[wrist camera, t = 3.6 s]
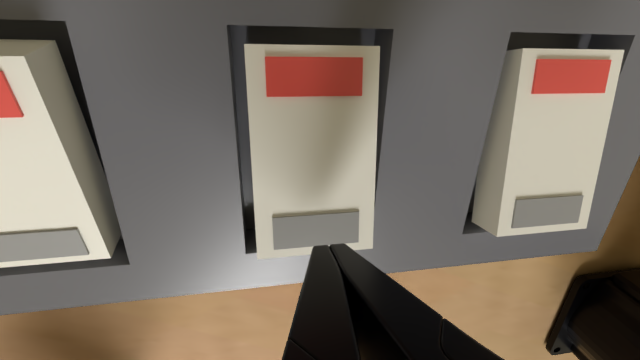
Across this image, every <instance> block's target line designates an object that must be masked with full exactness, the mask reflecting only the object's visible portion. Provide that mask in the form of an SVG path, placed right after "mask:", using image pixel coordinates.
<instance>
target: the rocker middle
mask: <svg viewBox="0 0 640 360" xmlns="http://www.w3.org/2000/svg"><path fill="white" fill-rule="evenodd" d="M244 52H245V68H246V84H247V101H248V117H249V133H250V149H251V166H252V182H253V198H254V214H255V231H256V247H257V259H267V258H278V257H289V256H299V255H310V254H311V252H312V248H313V247H314V246H317V245H328V246H330V245H331V244H340V243H344V244H346V245H348V246H349V247H350V248H352V249H353V250H363V249H373V228H374V201H375V174H376V146H377V119H378V92H379V65H380V46H346V45H282V44H244Z"/></svg>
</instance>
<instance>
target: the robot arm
mask: <svg viewBox="0 0 640 360" xmlns="http://www.w3.org/2000/svg"><path fill="white" fill-rule="evenodd" d="M546 349H547V351H548V352H549V353H550V354H551V355H558V354H564V353H570V352H572V353H573V354H574V355H575V356H576V357H577V358H578V359H579V360H640V268H636V269H628V270H620V271H612V272H604V273H595V274H587V275H582V276H580V277H578V278H577V279H576V280H575V281H574V283H573V285H572V288H571V290H570V292H569V294H568V297H567V299H566V301H565V304H564V306H563V308H562V310H561V313H560V315H559V317H558V320H557V322H556V324H555V326H554V329H553V331H552V333H551V335H550V338H549V340H548V342H547V345H546ZM282 360H504V359H502V358H501V357H499V356H498V355H496V354H495V353H493V352H492V351H490V350H489V349H487V348H486V347H484V346H483V345H481V344H480V343H478V342H477V341H476V340H474V339H473V338H471V337H470V336H469V335H467V334H466V333H464V332H463V331H462V330H460V329H459V328H457V327H456V326H455V325H453V324H452V323H451V322H449V321H448V320H447V319H443V317H442V316H441V315H440V314H438V313H437V312H436V311H434V310H433V309H432V308H430V307H429V306H428V305H426V304H425V303H424V302H422V301H421V300H420V299H418V298H417V297H416V296H414V295H413V294H412V293H410V292H409V291H408V290H406V289H405V288H404V287H402V286H401V285H400V284H398V283H397V282H396V281H394V280H393V279H392V278H390V277H389V276H388V275H386V274H385V273H384V272H382V271H381V270H380V269H378V268H377V267H376V266H374V265H373V264H372V263H370V262H369V261H368V260H366V259H365V258H364V257H362V256H361V255H360V254H358V253H357V252H356V251H354V250H353V249H352V248H350V247H349V246H348V245H346V244H344V243H340V244H331V245H330V246H328V245H317V246H314V247H313V248H312V252H311V256H310V259H309V263H308V267H307V270H306V274H305V278H304V281H303V285H302V289H301V292H300V296H299V300H298V303H297V307H296V311H295V314H294V318H293V322H292V325H291V329H290V333H289V336H288V341H287V343H286V346H285V350H284V354H283V357H282Z"/></svg>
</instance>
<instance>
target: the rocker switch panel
mask: <svg viewBox="0 0 640 360" xmlns="http://www.w3.org/2000/svg"><path fill="white" fill-rule="evenodd" d="M0 39H17V40H55V41H56V44H57V47H58V49H59V52H60V55H61V57H62V60H63V63H64V65H65V68H66V71H67V74H68V76H69V79H70V82H71V84H72V87H73V90H74V92H75V95H76V98H77V101H78V103H79V106H80V109H81V111H82V114H83V117H84V119H85V122H86V125H87V128H88V130H89V133H90V136H91V138H92V141H93V144H94V146H95V149H96V152H97V155H98V157H99V160H100V163H101V165H102V168H103V171H104V173H105V176H106V179H107V182H108V184H109V188H110V192H111V195H112V199H113V203H114V207H115V210H116V214H117V218H118V222H119V225H120V229H121V233H122V234H121V236H120V238H119V241H118V243H117V245H116V248H115V250H114V252H113V255H112V257H111V258H108V259H96V260H85V261H73V262H62V263H50V264H39V265H27V266H16V267H4V268H0V315H8V314H17V313H26V312H35V311H45V310H54V309H63V308H72V307H82V306H91V305H100V304H109V303H118V302H128V301H137V300H146V299H155V298H165V297H174V296H183V295H192V294H202V293H211V292H220V291H229V290H238V289H248V288H257V287H266V286H275V285H285V284H294V283H303V281H304V278H305V274H306V270H307V267H308V263H309V259H310V256H311V254H310V255H299V256H289V257H278V258H267V259H257V247H256V231H255V214H254V198H253V182H252V166H251V149H250V133H249V117H248V101H247V84H246V68H245V52H244V44H282V45H346V46H380V65H379V92H378V119H377V146H376V174H375V201H374V228H373V249H363V250H354V251H356V252H357V253H358V254H360V255H361V256H362V257H364V258H365V259H366V260H368V261H369V262H370V263H372V264H373V265H374V266H376V267H377V268H378V269H380V270H381V271H382V272H384V273H385V274H386V273H395V272H405V271H414V270H423V269H432V268H442V267H451V266H460V265H469V264H478V263H488V262H497V261H506V260H515V259H525V258H534V257H543V256H552V255H562V254H571V253H580V252H589V251H597V249H598V246H599V244H600V242H601V240H602V238H603V235H604V233H605V231H606V229H607V226H608V224H609V222H610V220H611V218H612V215H613V213H614V211H615V209H616V207H617V204H618V202H619V200H620V198H621V196H622V193H623V191H624V189H625V187H626V184H627V182H628V180H629V178H630V176H631V173H632V171H633V169H634V167H635V165H636V162H637V160H638V158H639V156H640V0H0ZM522 48H538V49H602V50H624V55H623V59H622V64H621V69H620V73H619V78H618V83H617V87H616V92H615V97H614V102H613V106H612V111H611V116H610V120H609V125H608V130H607V134H606V139H605V144H604V148H603V153H602V158H601V162H600V167H599V172H598V176H597V181H596V186H595V190H594V195H593V200H592V204H591V209H590V214H589V218H588V223H587V228H586V229H576V230H565V231H554V232H544V233H533V234H523V235H512V236H501V237H496V236H494V235H493V234H491V233H489V232H488V231H486V230H485V229H483V228H481V227H480V226H478V225H476V224H475V223H473V222H472V214H473V205H474V197H475V188H476V180H477V171H478V167H479V162H480V158H481V154H482V150H483V146H484V142H485V137H486V133H487V129H488V125H489V121H490V117H491V113H492V108H493V104H494V100H495V96H496V92H497V88H498V84H499V79H500V75H501V71H502V67H503V63H504V59H505V55H506V51H509V50H515V49H522Z"/></svg>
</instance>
